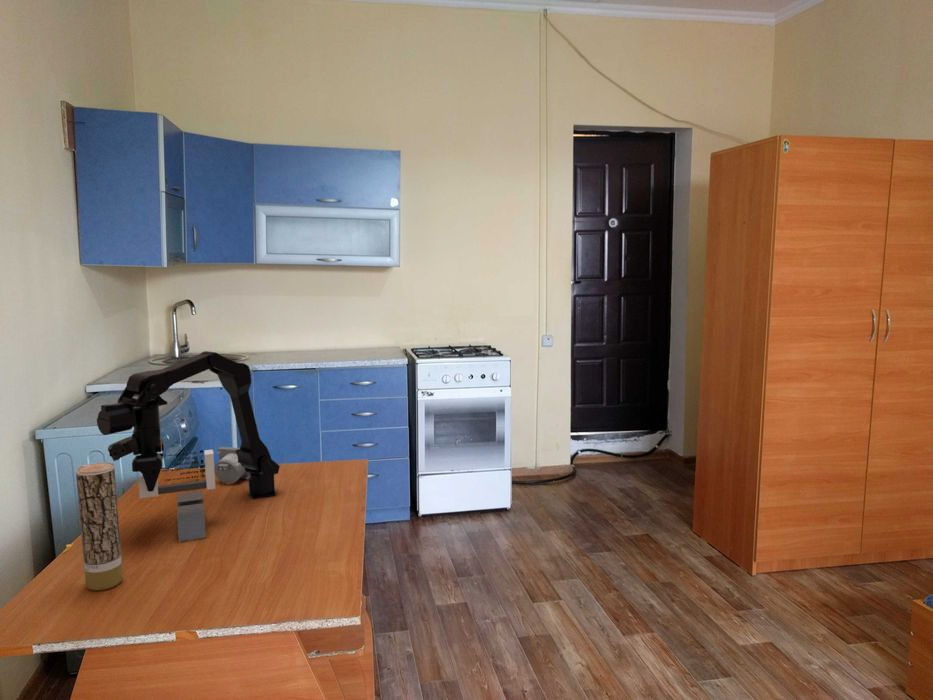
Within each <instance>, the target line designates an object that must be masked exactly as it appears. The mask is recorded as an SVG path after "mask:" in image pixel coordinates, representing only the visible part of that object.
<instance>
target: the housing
mask: <svg viewBox="0 0 933 700" xmlns="http://www.w3.org/2000/svg"><path fill="white" fill-rule="evenodd" d="M176 502H177V507H176V508H177V509H176V522H177V535H178V536H177V537H178V542H179V541H184V542H186V541H185V540H190V541H193V540H192V539H197V540H201V539H200V538H203V539H206V538H205V537H207V536H206V535H207V533H206V519H205V505H204V492H203V490H198V491H190V492H183V493H178V494H177V501H176Z"/></svg>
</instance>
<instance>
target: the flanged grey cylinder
mask: <svg viewBox="0 0 933 700" xmlns="http://www.w3.org/2000/svg"><path fill="white" fill-rule="evenodd" d="M237 449H240V447H232V446H231V447H229V446H219V447H218V448H217V455H218V458H219V461H218V462H217V463H216V464H214V471H215V478H217V479H218V480H219V481H220V482H222V483H223V484H225V483H229V484H228V485H233V484H235V483H236V482H237V481H238V480H239V479H241V478H245V479H244V480H248V478H250V473H249V472H246V471H245V468H244V467H243V466H242V465H241V463H238V456H237V454H236V450H237ZM198 452H199V454H201V456H199V459H200V464H201V465H199V467H198V466H197V465H196V466H188V467H182V468H181V467H180V468H176V472H178V471H181V470H184V469H185V470H190V469H199V471H198V470H196V471H195V470H193V471H186V472H185V471H184V472H183V471H182V472H180V474H179V476H182V475H188V474H198V473H201V474H200V476H201V478H202V479H204V478H206V472H205V462H204V459H203V457H204V450H203V449H201V450H199V451H198ZM198 452H197V451H193V452H192V451H191V452H189V453H188V452H185V453H184V452H182V453H181V456H185V455H186V456H187V455H193V454H194V455H195V454H196V455H197V454H198ZM163 454H164V453H163ZM172 456H174V457H175V456H177V457H178V456H179V453H176V454H172V453H171V454H169V457H172ZM163 458H166V454H164V455H163ZM196 458H198V455H197V456H193V457H190V456H189V457H185V460H190V459H191V460H193V459H196ZM178 460H179V461H182V460H183V461H184V457H179V458H178ZM198 463H199V462H198V460H197V461H195V460H194V461H191V463H190V462H189V461H185V462H184V463H183V462H176V463H173V464H174V466H182V465H183V464H184V465H190V464H193V465H194V464H198ZM172 471H174V468H171V472H172ZM161 472H168V469H161ZM193 478H199V475H194V476H191V478H190V476H186V477H183V476H182V477H176V478H172V479H171V478H169V479H167V478H166V479H165V481H167V482H169V481H170V482H171V481H174V480H175V481H178V480H182V479H193ZM196 481H199V479H196Z"/></svg>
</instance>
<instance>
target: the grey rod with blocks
mask: <svg viewBox="0 0 933 700" xmlns="http://www.w3.org/2000/svg"><path fill="white" fill-rule="evenodd" d="M203 451H204V453H203V456H204V465H205V468H204V469H205V472H204V473H205V480H194V481H188V482H181V483H173V484H172V483H171V484H164V485H159V478H158V479H157V482H156V485H155V488H154V490H153V491H150V492H149V491H148V489H147V486H146V483H145V480H144V477H143V476H139V478H138V492H139V493H138V495H139V499H145V498H146V499H147V498H153V497H154V498H155V497H159V495H165V494H173V493H181V492H189V491H196V490H204V489H206V490H207V491H208V490H215V489H216V475H215V471H214V467H215V457H214V450H213V449H204V450H203Z"/></svg>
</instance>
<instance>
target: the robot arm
mask: <svg viewBox="0 0 933 700" xmlns="http://www.w3.org/2000/svg"><path fill="white" fill-rule="evenodd" d="M205 371H210V372H212V373H214V374H216V375H217V377H218V379H219V382H220V384H221V386H222V387H223V389H224V390H225V391H226V392H227V394H228V395H229V397H230V401H231V405H232V409H233V412H234V416H235V421H236V426H237V428H238V433H239V437H240V441H241V443H240V447H239V448H240V449H237V450H236V454H237V456H238V463H241V465H242V466H243V467H244V468H245V471H246V472H249V473H250V478H248V479H247V480H248V481H247V482H248V493H249V495H250V496H251V498H252V499H256V498H257V499H258V498H265V497H266V498H267V497H272V496H276V494H277V493H276V491H275V489H276V488H275V486H276V485H275V475H276V474H278V473H279V471H280V467H281V466H280V465H279V464H278V463H277V462H275V460H273V459H272V455H271V454H270V451H269V449H268V446H267V445H266V444H265V443H264V441H262V439H261V437H260V434H259V430H258V426H257V422H256V418H255V417H256V416H255V413H254V409H253V405H252V402H251V396H250V392H249V391H250V388H251V386H252V373H251V369H250V366H249V365H248V364H246V363H245V362H239V361H238V362H237V361H235V360H232V359H229V358H227V357H226V356H222V355H221V354H219V353H218V352H215V351H207V350H206V351H202V352H201V353H199V354H197V355H194V356H192V357H190V358H186V359H184V360H181V361H180V362H177V363H175V364H171V365H168V366H166V367H164V368H161V369H155V370H146V371H142V372H136V373H133V374H132V375H130V376H129V377H128V380H127V382H126V386H125V388H124V389H123V391H122V393H121V395H120V397H119V398H118V400H117V402H116V403H112V404H101V406H100V411H99V412H98V414H97V418H96V425H97V428H98V430H99V432H100V433H101V434H102V435H103V436H109V435H112V434H117V433H121V432H122V433H123V432H126V431H130V430H132V429H133V430H132V433H131V435H130V436H128V437H125V438H123V439H120V440H118V441H116V442H113V443H111V444H109V445H108V447H107V451H108V453H109V457H111V459H112V461H113V462H115V461H119V460H121V458H123V457H126V456H128V455H131V454H132V455H133V456H134V457H133V459H132V461H131V462H132V463H131V468H132V469H131V470H132V472H133V473H134V472H135V473H137V472H140V473H141V474H142V477H144V480H145V483H146V486H147V489H148V491H149V492H150V491H153V490H154V488H155V485H156V482H157V479H158V480H159V476H160V474H161V472H162V469H163V459H164V456H163V455H164V453H163V452H164V451H165V441H164V440H163V439H162V433H161V432H162V429H161V428H162V427H161V422H160V421H161V418H160V408H159V407H161V406H166V405H168V401H167V400H165V399H163V397H161V395H163V394H164V393H165V392H167V391H168V390H169V389H170V387H172V386H173V385H174V384H178V383H179V382H182V381H185V380H187V379H188V378H191V377H194V376H195V375H198V374H201V373H203V372H205ZM134 397H135V398H134Z"/></svg>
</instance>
